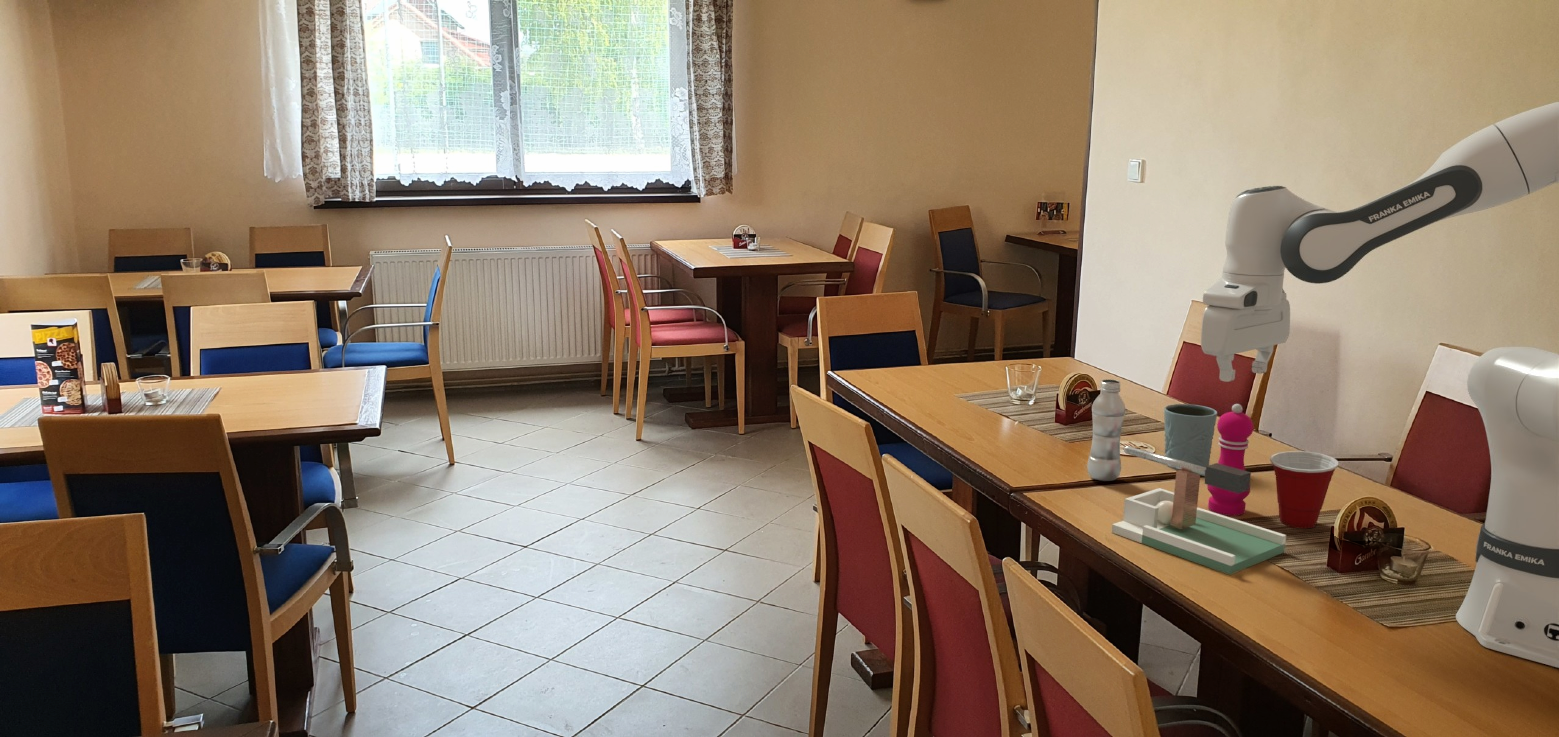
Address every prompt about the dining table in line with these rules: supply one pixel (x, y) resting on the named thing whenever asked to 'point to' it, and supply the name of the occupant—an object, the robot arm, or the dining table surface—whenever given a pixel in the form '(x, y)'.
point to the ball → (1165, 512)
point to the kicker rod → (1194, 483)
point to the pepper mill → (1231, 459)
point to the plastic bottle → (1106, 432)
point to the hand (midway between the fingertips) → (1243, 376)
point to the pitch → (1199, 535)
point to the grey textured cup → (1189, 433)
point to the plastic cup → (1302, 485)
